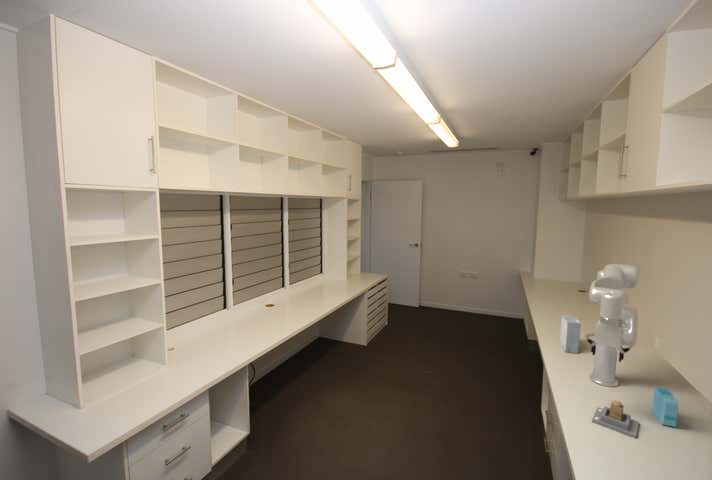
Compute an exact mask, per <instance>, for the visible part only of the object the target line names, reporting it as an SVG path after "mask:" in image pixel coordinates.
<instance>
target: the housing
mask: <svg viewBox="0 0 712 480" xmlns="http://www.w3.org/2000/svg"><path fill="white" fill-rule="evenodd" d="M591 423H594V424H596V425H598V426H601V427H604V428H606V427H607V428H606V429H609V428H610V429H609V430H612V431H614V430H615V432H618V433H620V434H622V435H625V436H628V437H631V438H633V439H637V435H638V429H639V425H640V421H639V420H636V419H632V415H631V414H629V413H626V412H623V418H622V421H619V420H616V419H613V418H611V417H610V407H608V406H604V408H601V407H596V410H595V413H594V414H593V416H592V419H591Z"/></svg>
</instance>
